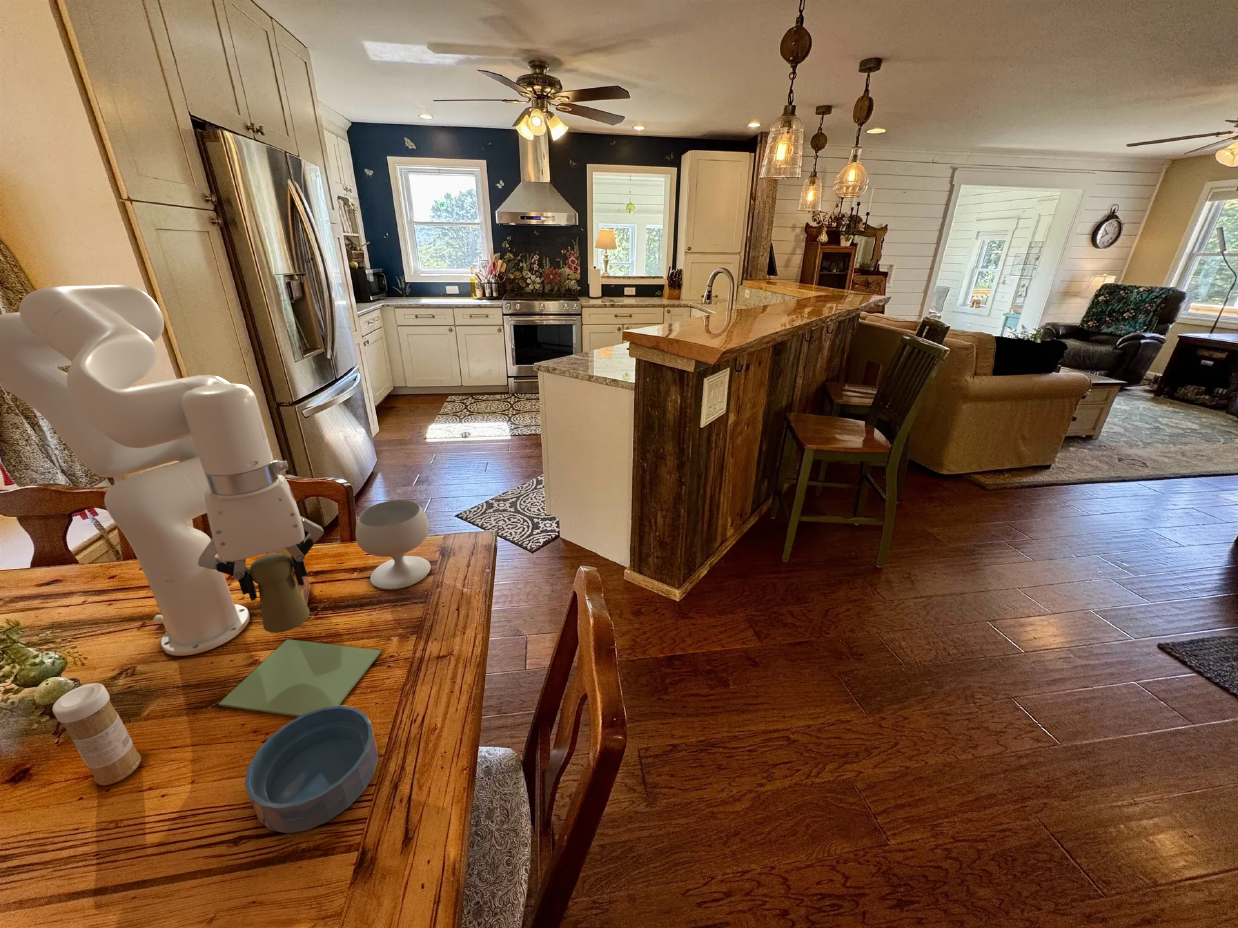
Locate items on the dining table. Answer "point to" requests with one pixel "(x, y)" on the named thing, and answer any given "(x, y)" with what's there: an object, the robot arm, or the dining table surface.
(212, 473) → the robot arm
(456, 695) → the dining table surface
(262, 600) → the cork
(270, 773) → the bowl
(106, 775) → the sprinkles bottle
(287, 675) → the mat
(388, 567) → the chalice
